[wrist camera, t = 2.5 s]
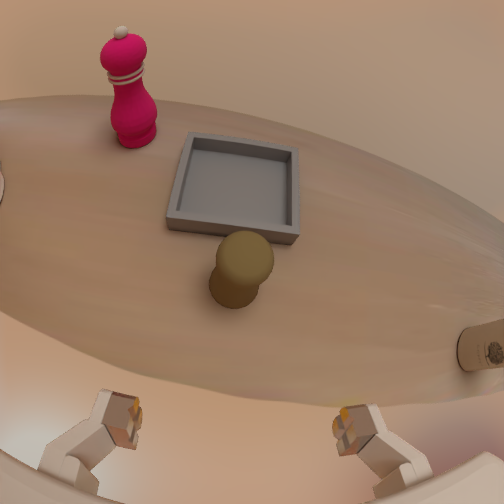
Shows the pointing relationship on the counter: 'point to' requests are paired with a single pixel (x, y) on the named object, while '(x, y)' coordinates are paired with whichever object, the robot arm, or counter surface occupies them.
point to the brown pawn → (240, 268)
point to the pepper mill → (129, 89)
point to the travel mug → (482, 346)
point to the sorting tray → (236, 188)
